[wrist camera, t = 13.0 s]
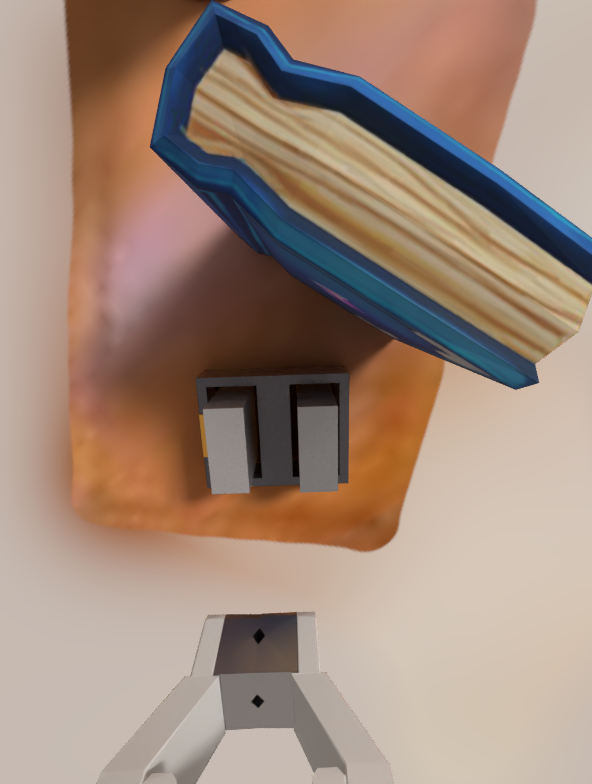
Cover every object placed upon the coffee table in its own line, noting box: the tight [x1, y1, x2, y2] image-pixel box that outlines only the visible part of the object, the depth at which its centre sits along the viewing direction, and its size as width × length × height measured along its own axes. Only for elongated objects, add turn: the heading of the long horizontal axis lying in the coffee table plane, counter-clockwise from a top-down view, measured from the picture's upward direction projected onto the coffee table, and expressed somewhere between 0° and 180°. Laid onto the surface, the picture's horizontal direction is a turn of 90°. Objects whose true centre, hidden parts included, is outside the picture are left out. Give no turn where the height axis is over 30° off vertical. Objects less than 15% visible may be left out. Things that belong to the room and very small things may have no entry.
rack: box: [196, 366, 349, 492], centre depth 39 cm, size 13×16×9 cm
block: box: [203, 386, 258, 494], centre depth 39 cm, size 9×4×9 cm, turn 2°
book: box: [150, 0, 592, 390], centre depth 26 cm, size 22×7×25 cm, turn 60°
